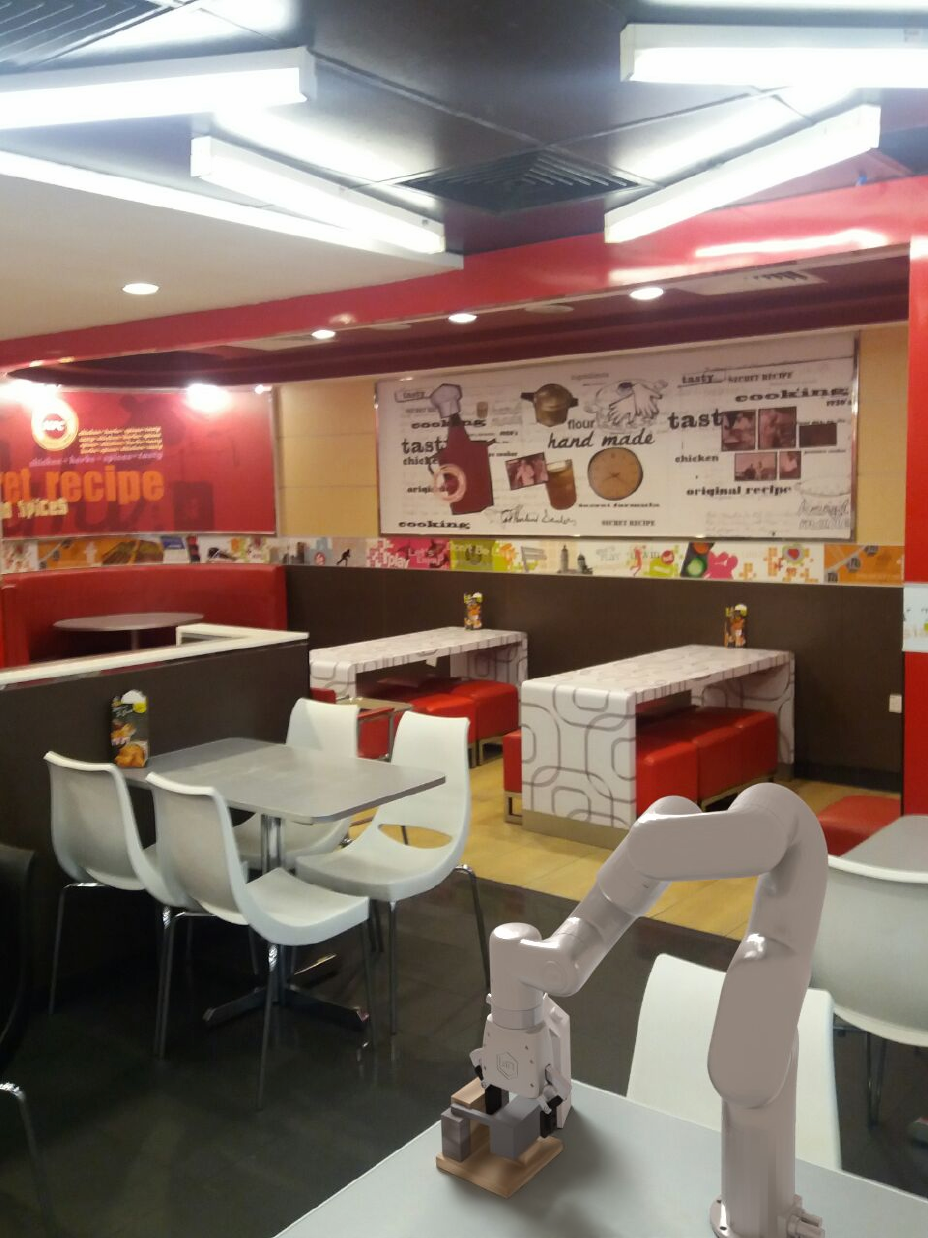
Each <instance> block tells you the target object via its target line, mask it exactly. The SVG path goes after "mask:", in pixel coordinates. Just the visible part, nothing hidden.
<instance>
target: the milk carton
mask: <svg viewBox="0 0 928 1238" xmlns="http://www.w3.org/2000/svg"><path fill="white" fill-rule="evenodd" d="M543 1000H544V1021H546V1022H547V1024H548V1028H549V1033H550V1037H551V1043H552V1051H553V1060H554V1069H555V1070H556V1071H557V1072H558V1073H559V1074H560V1075H561V1076H562V1077H563V1078H565V1079H566V1080H567V1081H568V1082H569V1083H570V1084H571V1085H572V1070H571V1069H572V1067H571V1065H572V1064H571V1029H570V1028H571V1022H570V1019H571V1018H570V1015H569V1014H568V1013H567V1012H565V1010H564V1009H562V1008H561V1007H560V1006H559V1005H558V1004H557V1003H556V1002H555V1001H554V1000H553V999H551V998H550V997H549V994H547V993H545V992H544V994H543ZM552 1087H553V1089H554V1091H555V1092H556V1094H557V1092H558V1090H557V1088H556V1087H555V1086H554V1085H553V1086H552ZM571 1107H572V1090H571V1091H570V1093H569V1095H568V1096H567V1099H566V1100H565V1101H564V1102H563V1103H561V1104H560V1105H559V1106H558V1107H557V1127H556V1129H557V1128H558V1129H563V1128H564V1126H565V1122H566V1120H567V1117H568V1115H569V1112H570V1109H571Z"/></svg>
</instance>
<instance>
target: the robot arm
mask: <svg viewBox="0 0 928 1238" xmlns="http://www.w3.org/2000/svg"><path fill="white" fill-rule="evenodd" d="M825 837H826V836H825V834H824V831H823V828H822V826H821V823H820V821H819V820H818V817H817V816H816V815H815V813H814V812H813V810H812V809H811V807H810V806H809V805H808V804H807V803H806V801H804V799H802V798H801V797H800V796H799V795H798V794H796V792H794V791H792V790H791V789H789V788H788V787H786V786H783V785H781V784H778V783H774V782H760V783H757V784H754V785H751V786H750V787H747V788H746V789H744V790H743V791H742V792H741V793H739V794H738V795H737V796H736V798H734V800H733V801H732V803H731V804H730V806H729V807H728V809H726V810H720V811H718V810H717V811H710V812H703V811H702V809H701V808H700V807H699V806H698V805H697V804H696V803H695V802H694V801H692V800H691V799H689V798H688V797H687V798H686V797H684V796H680V795H667V796H664V797H661V798H658V799H657V800H656V801H654V802H653V803H652V804H650V806H649V807H648V808H647V809H646V810H645V811H644V812H643V813H642V814H641V815H640V816H639V817H638V818H637V820H636V821H635V822H634V823H633V824H632V826H631V827H630V830H629V832H628V833H627V835H626V836H625V837H624V838H623V839H622V841H621V842H620V843H619V845H617V847H616V848H615V850H613V852H612V853H611V854H610V855H609V856H608V858H607V859H606V860H605V862H604V863H603V864H602V865H601V866H600V868H599V869H598V870H597V872H596V875H595V878H596V880H595V882H594V884H593V885H592V886H591V888H590V890H589V891H588V892H587V893H586V894H585V895H584V897H583V898H582V899H581V901H580V902H579V903H578V905H577V906H576V907H575V909H574V910H572V912H571V913H570V915H568V917H567V918H566V919H565V920H564V922H563V923H562V924H561V925H560V926H559V927H558V928H557V929H556V930H555V931H554V932H553V933H552V935H551V936H550V937H548V938H545V939H543V937H542V935H541V933H540V931H539V930H538V928H537V927H535V926H533V925H532V924H529V923H524V922H509V923H503V924H500V925H498V926H496V927H495V928H494V929H493V930H492V931H491V933H490V936H489V969H490V970H489V974H490V993H488V994H487V995H486V998H485V1001H486V1003H487V1004H489V1005H490V1006H491V1007H490V1009H491V1011H490V1012H491V1013H490V1014H488V1015H487V1018H486V1021H485V1027H484V1033H483V1040H482V1047H478V1048H476V1049H475V1048H474V1050H472V1051H471V1052H470V1053H469V1058H470V1060H471V1062H472V1065H473V1066H474V1072H475V1075H476V1076H477V1077H479V1079H480V1080H481V1087H482V1088H483V1089H485V1105H486V1114H488V1115H492V1114H494V1113H495V1112H496V1111H498V1110H499V1109H500V1108H501V1107H502V1090H501V1089H504V1090H506V1091H509V1093H512V1094H515V1095H516V1096H517V1095H519V1096H522V1097H525V1098H528V1099H537V1100H538V1102H539V1104H540V1105H541V1107H542V1109H543V1110H542V1111H540V1136H541V1137H542V1138H544V1139H545V1138H546V1137H548V1136H551V1134H553V1132H555V1131H556V1129H557V1107H558V1106H559V1105H560V1104H561V1103H563V1102H564V1101H565V1100H566V1099H567V1096H568V1095H569V1093H570V1091H571V1092H572V1089H573V1086H572V1083H571V1084H570V1083H569V1082H568V1081H567V1080H566V1079H565V1078H563V1077H562V1076H561V1075H560V1074H559V1073H558V1072H557V1071H556V1070H555V1069H554V1060H553V1051H552V1043H551V1037H550V1033H549V1028H548V1024H547V1022H546V1021H544V1000H543V997H544V994H545V993H547V994H548V995H550V996H554V997H559V998H567V997H571V996H573V995H575V994H576V993H577V992H579V991H580V989H582V987H583V986H584V984H585V983H586V982H587V980H588V979H589V978H590V977H591V975H592V973H594V971H595V970H596V968H597V967H598V966H599V964H600V963H601V962H602V961H603V959H604V958H605V957H606V956H607V954H608V953H609V952H610V950H611V949H612V948H613V947H614V945H615V944H616V943H617V942H618V941H619V940H620V938H621V937H622V936H623V934H624V933H625V932H626V931H627V930H628V928H630V927H631V925H633V923H634V922H635V921H636V920H637V919H638V918H639V917H645V916H646V915H647V914H648V913H649V911H651V909H652V908H653V907H654V906H655V904H656V903H657V902H658V901H659V900H660V898H661V897H662V896H663V895H664V894H665V892H666V891H667V890H668V889H669V888H670V886H671V885H672V884H673V883H676V882H678V883H679V882H682V883H683V882H697V881H698V882H699V881H717V880H730V879H747V878H752V877H753V878H754V877H757V879H756V880H757V881H756V884H755V889H754V893H753V897H752V898H753V899H752V904H751V910H750V914H749V917H748V922H747V926H746V930H745V933H744V936H743V938H742V940H741V942H740V943H739V945H738V948H737V949H736V951H735V952H734V955H733V957H732V960H731V961H730V963H729V966H728V968H727V970H726V973H725V975H724V979H723V983H722V986H721V991H720V994H719V999H718V1005H717V1009H716V1014H715V1018H714V1023H713V1028H712V1031H711V1037H710V1041H709V1046H708V1051H707V1057H706V1067H707V1074H708V1078H709V1080H710V1082H711V1084H712V1086H713V1089H714V1090H715V1091H716V1092H717V1095H719V1096H720V1097H721V1110H720V1111H721V1112H720V1114H721V1115H720V1116H721V1117H720V1118H721V1119H720V1120H721V1121H720V1122H721V1123H720V1124H721V1126H720V1127H721V1129H720V1131H721V1132H720V1134H721V1139H720V1140H721V1143H720V1145H721V1146H720V1147H721V1154H720V1155H721V1160H720V1161H721V1163H720V1164H721V1169H720V1171H721V1173H720V1174H721V1175H720V1176H721V1180H720V1181H721V1190H720V1192H721V1194H720V1195H718V1196H717V1197H716V1198H715V1199H714V1201H713V1202H712V1203H711V1206H710V1208H709V1223H710V1226H711V1229H712V1230H713V1231H714V1233H715V1235H716V1236H717V1237H718V1238H826V1231H825V1229H824V1228H822V1227H823V1217H820V1216H818V1215H815V1214H811V1213H810V1212H809V1213H808V1212H807V1211H806V1209H804V1208H803V1196H801V1195H799V1194H796V1130H797V1129H796V1123H797V1086H798V1085H797V1082H798V1070H799V1069H798V1067H799V1051H800V1035H799V1027H798V1025H799V1021H800V1016H801V1013H802V1009H803V1005H804V1002H805V998H806V995H807V992H808V988H809V985H810V982H811V978H812V968H813V959H814V953H815V947H816V943H817V938H818V933H819V929H820V926H821V925H820V924H821V917H822V913H823V908H824V903H825V897H826V893H827V886H828V880H829V879H828V878H829V852H828V846H827V841H826V838H825ZM553 1085H554V1086H555V1087H556V1088H557V1090H558V1092H557V1094H556V1092H555V1091H554V1089H553V1087H552V1086H553ZM544 1092H546V1094H547V1096H548V1097H549V1099H550V1101H549V1102H548V1100H547V1099H546V1097H545V1095H544V1094H543V1093H544Z"/></svg>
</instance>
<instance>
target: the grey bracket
mask: <svg viewBox="0 0 928 1238" xmlns="http://www.w3.org/2000/svg"><path fill="white" fill-rule="evenodd" d="M543 1094H544V1095H545V1097H546V1099H547V1100H548V1102H549V1101H550V1099H549V1097H548V1096H547V1094H546V1092H544V1093H543ZM450 1107H451V1112H452V1113H455V1114H458V1115H460V1116H463V1117H466V1118H468V1119H471V1120H474V1121H477V1122H479V1123H482V1124H485V1125H488V1126H490V1153H493V1154H496V1155H498V1156H501V1157H504V1158H506V1159H509V1160H511V1161H515V1160H516V1159H517V1158H518V1157H519V1156H520V1155H521V1154H522V1153H523V1152H524V1151H525V1150H526V1149H527V1148H528V1147H529V1146H530V1145H532V1144H533V1143H534V1142H535V1141H536V1140H537V1139H538V1138H539V1137H540V1111H542V1110H543V1109H542V1107H541V1105H540V1104H539V1102H538V1100H537V1099H528V1098H525V1097H522V1096H519V1095H517V1094H516V1096H515V1097H514V1098H512V1100H510V1101H509V1103H508V1104H507V1105H506V1106H505V1107H504V1108H503V1109H501V1110H500V1111H499V1112H498V1113H497V1114H496V1115H495V1116H491V1115H488V1114H485V1113H482V1112H480V1111H477V1110H474V1109H471V1108H469V1107H466V1106H463V1105H460V1104H457V1103H455V1102H454V1103H453V1104H452V1105H451V1104H450Z"/></svg>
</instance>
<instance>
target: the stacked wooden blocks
mask: <svg viewBox="0 0 928 1238" xmlns="http://www.w3.org/2000/svg"><path fill="white" fill-rule="evenodd" d="M501 1090H502V1107H501V1108H500V1109H499V1110H498V1111H496V1112H495V1113H494V1114H492V1115H491V1116H495V1115H496V1114H497V1113H498V1112H499V1111H500V1110H501V1109H503V1108H504V1107H505V1106H506V1105H507V1104H508V1103H509V1102H510V1092H509V1091H506V1090H504V1089H501ZM454 1102H455V1103H457V1104H460V1105H463V1106H466V1107H469V1108H471V1109H474V1110H477V1111H480V1112H482V1113H485V1114H486V1105H485V1089H483V1088H482V1087H481V1080H480V1079H479V1077H478V1076H477V1077H476V1078H474V1079H473V1080H472V1081H470V1082H469V1083H468V1084H466V1085H465V1086H463V1087H462V1088H461V1089H459V1090H458V1091H456V1092H455V1093H454V1094H452V1095H451V1096H450V1103H451V1104H450V1107H448V1108H447V1109H446V1110H445V1111H443V1112H442V1113H440V1129H441V1130H440V1131H441V1152H440V1153H438V1154H437V1155H436V1156H435V1166H436V1167H437V1168H439V1169H441V1170H444V1171H447V1172H448V1173H451V1174H453V1175H455V1176H457V1177H459V1178H461V1179H464V1180H465V1181H467V1182H470V1183H472V1184H474V1185H476V1186H479V1187H481V1188H483V1189H485V1190H488V1191H489V1192H491V1193H494V1194H496V1195H498V1196H501V1197H503V1198H505V1199H506V1200H508V1199H509V1198H510V1197H512V1195H514V1194H515V1193H516V1192H518V1190H520V1188H521V1187H523V1186H524V1185H525V1184H526V1183H527V1182H528V1181H530V1179H532V1178H533V1177H534V1176H535V1175H536V1174H538V1173H539V1172H540V1171H541V1170H542V1169H544V1167H545V1166H546V1165H548V1163H549V1162H551V1161H552V1160H553V1159H555V1158H556V1156H557V1155H559V1154H560V1153H561V1152H562V1151H563V1140H561V1139H559V1138H556V1137H554V1136H551V1135H549V1136H548V1137H546V1138H545V1139H544V1138H542V1137H541V1136H540V1137H539V1138H538V1139H537V1140H536V1141H535V1142H534V1143H533V1144H532V1145H530V1146H529V1147H528V1148H527V1149H526V1150H525V1151H524V1152H523V1153H522V1154H521V1155H520V1156H519V1157H518V1158H517V1159H516V1160H515V1161H511V1160H509V1159H506V1158H504V1157H501V1156H498V1155H496V1154H493V1153H490V1126H488V1125H485V1124H482V1123H479V1122H477V1121H474V1120H471V1119H468V1118H466V1117H463V1116H460V1115H458V1114H455V1113H452V1112H451V1105H452V1104H453V1103H454Z"/></svg>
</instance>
